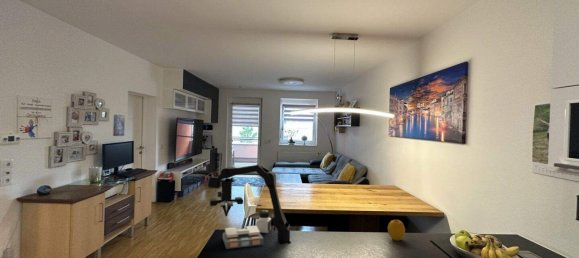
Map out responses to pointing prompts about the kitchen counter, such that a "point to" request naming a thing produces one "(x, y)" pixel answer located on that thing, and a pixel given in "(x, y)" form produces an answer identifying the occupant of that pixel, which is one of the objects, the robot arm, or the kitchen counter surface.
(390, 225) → the yellow oval fruit
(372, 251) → the kitchen counter surface
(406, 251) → the kitchen counter surface
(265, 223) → the medicine bottle
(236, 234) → the rocker
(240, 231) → the rocker
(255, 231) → the rocker
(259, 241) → the switch box
